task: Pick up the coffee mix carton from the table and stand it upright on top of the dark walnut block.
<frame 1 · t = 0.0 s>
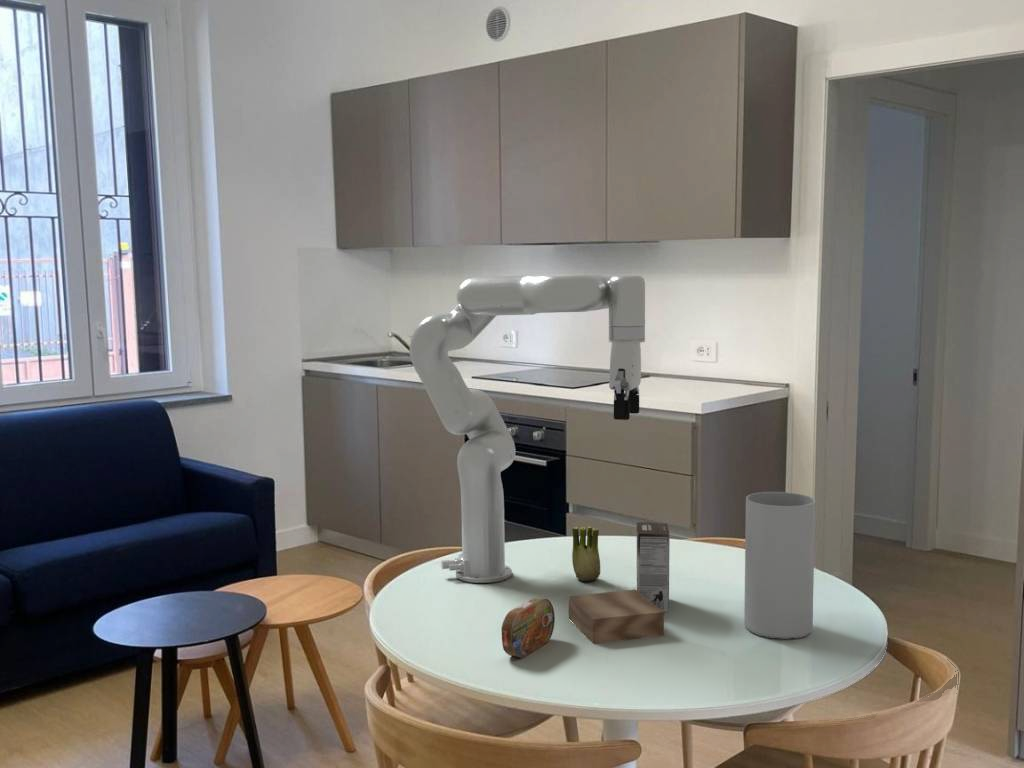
hand: (626, 416, 214), 37 cm above the table, tool pointing down, fingers open, 9 cm apart
tin: (528, 650, 183), on the table
walnut block: (615, 629, 194), on the table
coffee box: (652, 605, 207), on the table
cylinder vase: (778, 629, 192), on the table
fennel bulb: (587, 580, 224), on the table
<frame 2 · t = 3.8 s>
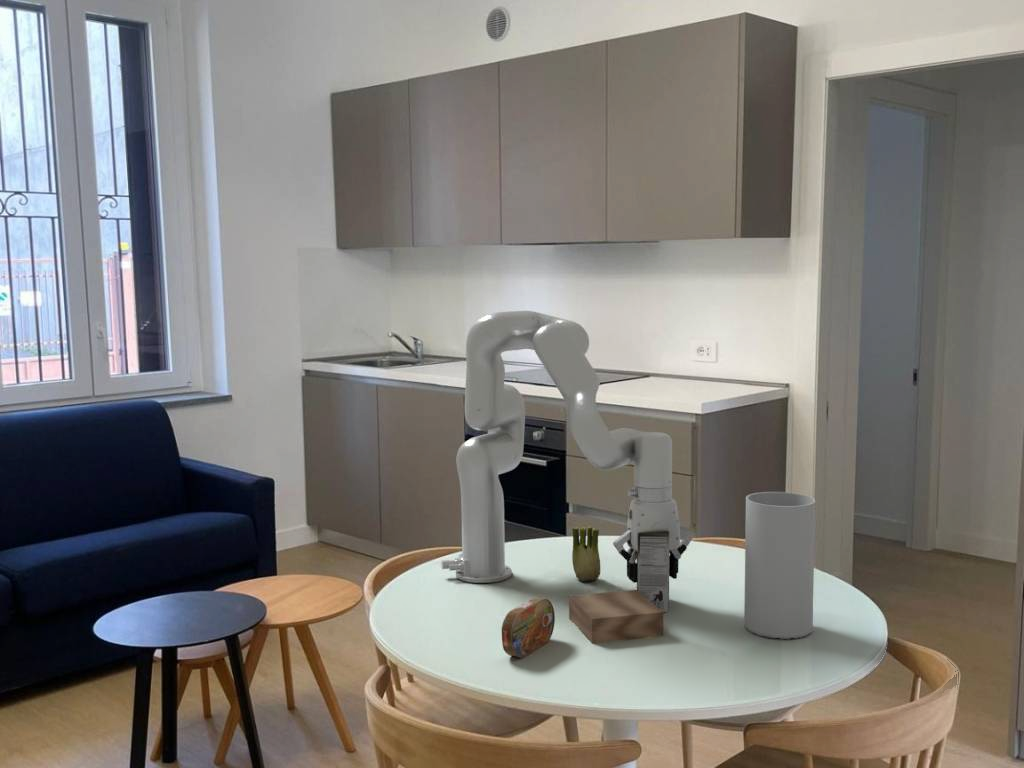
hand: (652, 578, 206), 6 cm above the table, tool pointing down, fingers closed on coffee box, 8 cm apart
coffee box: (652, 605, 207), on the table, touching gripper
everything else where it was.
when the fingers open (12 cm above the table, at t = 11.6 s): coffee box drops 2 cm, resting on walnut block.
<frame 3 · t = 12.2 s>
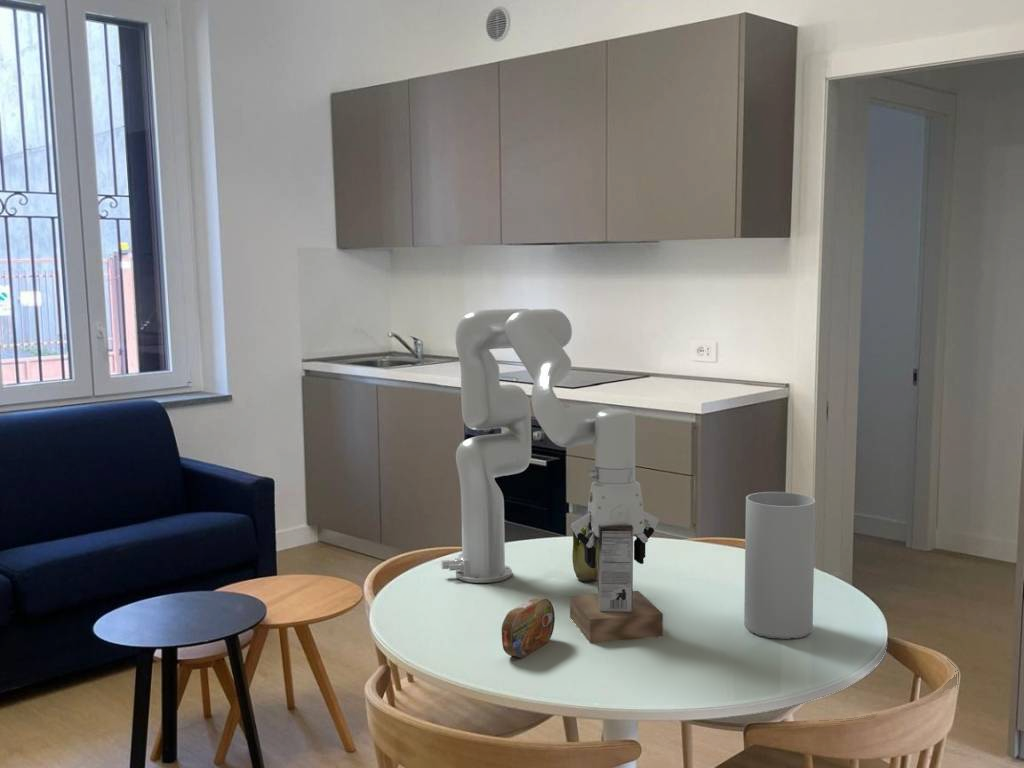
hand: (615, 564, 193), 12 cm above the table, tool pointing down, fingers open, 9 cm apart
walnut block: (615, 629, 194), on the table, touching coffee box
coffee box: (614, 605, 194), point 4 cm above the table, touching walnut block
everything else where it was.
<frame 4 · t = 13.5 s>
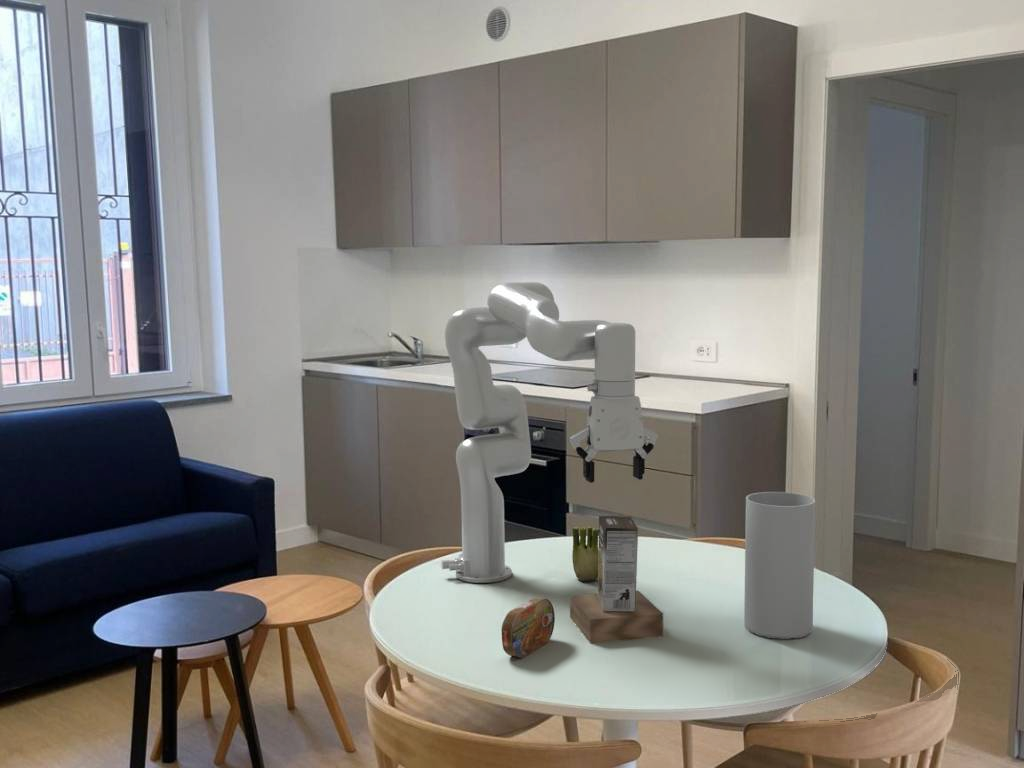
hand: (613, 479, 191), 29 cm above the table, tool pointing down, fingers open, 9 cm apart
nothing on the table moved.
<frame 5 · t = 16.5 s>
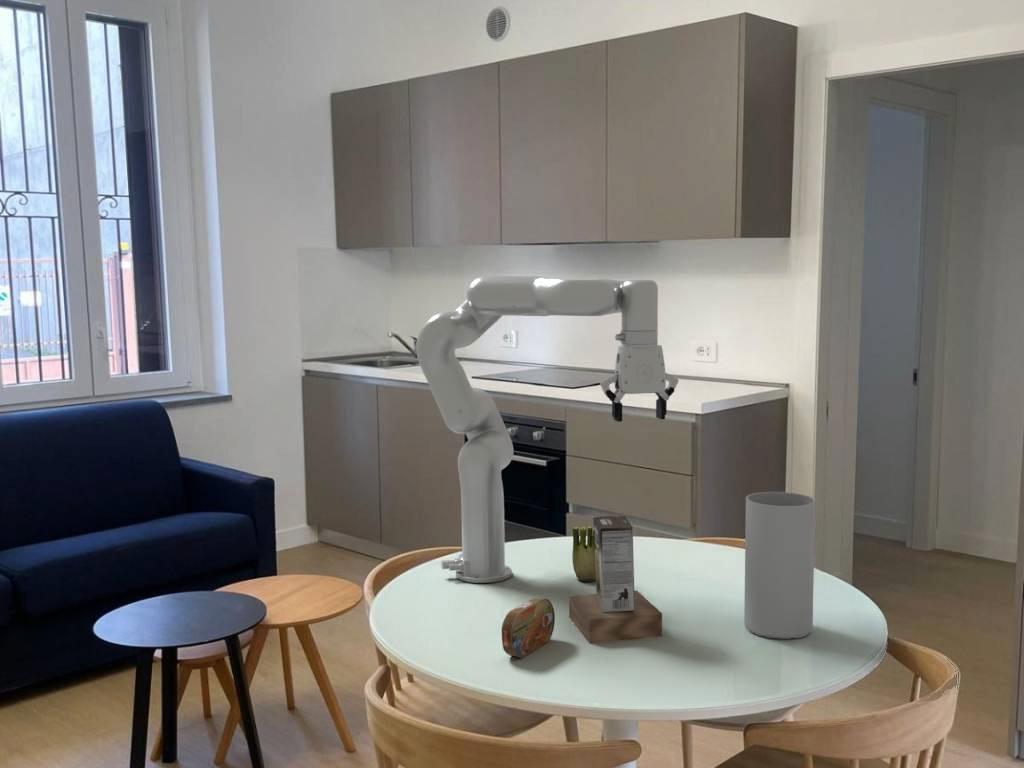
hand: (639, 419, 215), 36 cm above the table, tool pointing down, fingers open, 9 cm apart
at the end: coffee box inside the target area on the walnut block (0.2 cm from its centre), point 4.9 cm above the walnut block's base; coffee box tilted 2°; the gripper is holding nothing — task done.
